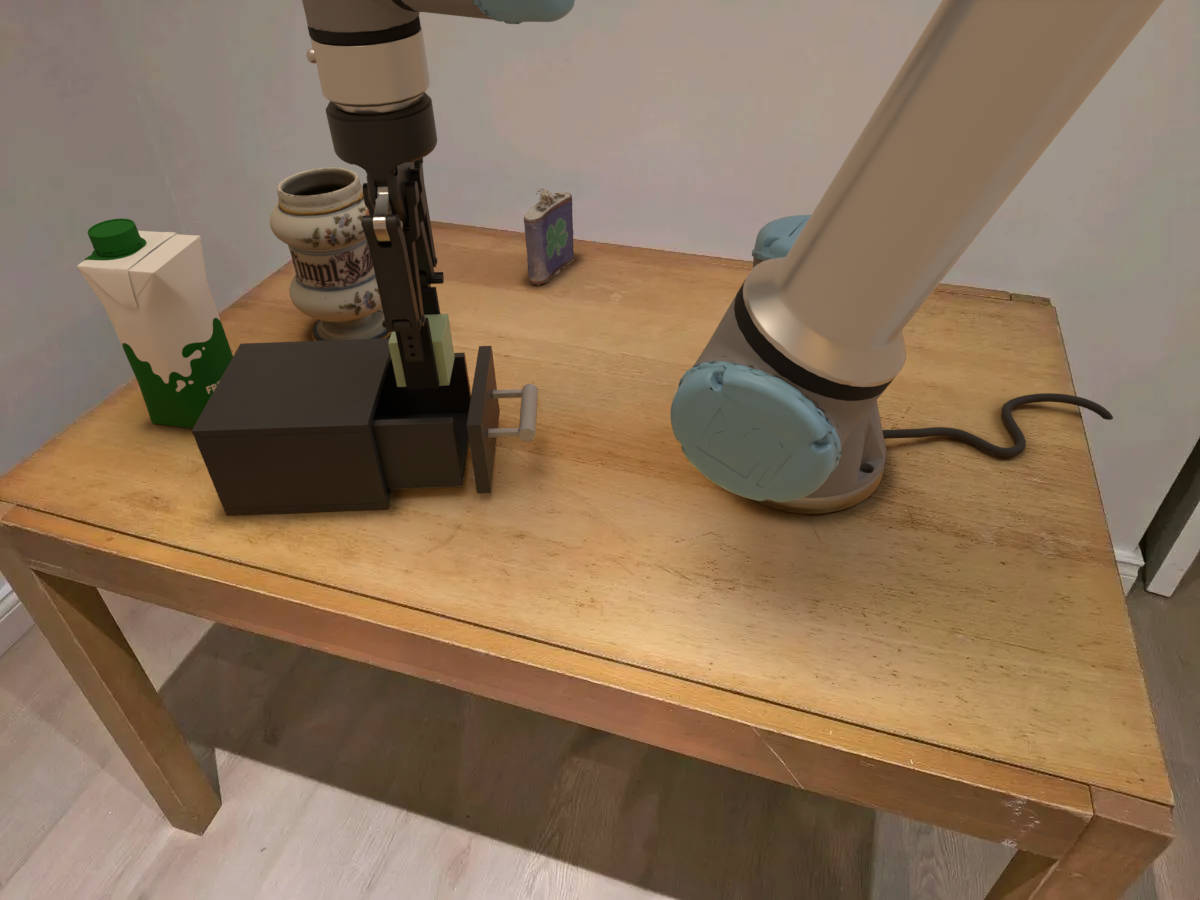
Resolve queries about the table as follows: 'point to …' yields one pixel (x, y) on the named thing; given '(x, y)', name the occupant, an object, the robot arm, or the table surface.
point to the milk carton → (160, 315)
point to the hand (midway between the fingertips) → (427, 369)
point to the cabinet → (297, 428)
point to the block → (440, 346)
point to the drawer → (446, 427)
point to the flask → (549, 236)
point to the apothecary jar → (329, 253)
